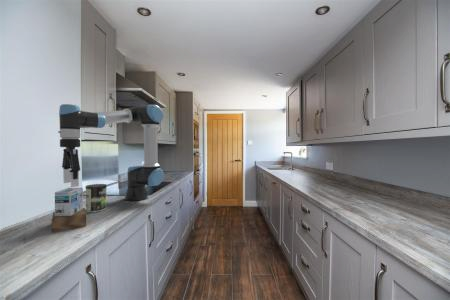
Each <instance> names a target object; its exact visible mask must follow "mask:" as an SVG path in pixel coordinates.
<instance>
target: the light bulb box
mask: <svg viewBox="0 0 450 300" xmlns="http://www.w3.org/2000/svg"><path fill="white" fill-rule="evenodd" d="M83 203H84V188H83V187H67V188H64V189H61V190H58V191H54V212H55V216H71V215H73V214H75V213H77V212H79V211H80V210H82V209H83V208H84V204H83Z"/></svg>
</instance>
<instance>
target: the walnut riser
mask: <svg viewBox="0 0 450 300" xmlns="http://www.w3.org/2000/svg"><path fill="white" fill-rule="evenodd" d="M84 227H87V212H86V207H83V209H82V210H80V211H79V212H77V213H75V214H73V215H71V216H55V211H53V212H52V217H51V233H57V232H62V231H68V230H73V229H79V228H84Z"/></svg>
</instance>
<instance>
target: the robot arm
mask: <svg viewBox="0 0 450 300" xmlns="http://www.w3.org/2000/svg"><path fill="white" fill-rule="evenodd" d="M58 110H59V111H58V112H59V113H58V115H59V116H58V117H59V130H58V131H57V133H58V134H59V138H60V139H59V147H60V148H63V150H62V151H63V155H62V165H61V168H62V169H63V170H62V173H63V176H62V177H63V184H68V183H69V184H70V188H77V187H79V185H80V180H79V179H80V178H79V177H80V174H79V173H80V172H79V171H81V166H80V159H79V150H78V149H76V148H81V129H85V128H86V129H89V128H91V129H93V128H94V129H102V128H104V127H105V126H106V125H112V124H119V123H126V124H131V123H133V124H140V125H141V126H142V127H143V152H144V153H143V155H144V157H143V161H144V163H143V164H142V165H136V166H135V165H133V166H129V167H128V168H127V173H126V174H127V188H126V192H125V195H124V200H125V201H127V202H132V201H133V202H137V201H144V200H146V199H148V198H149V194H148V191H147V187H146V186H150V187H151V186H152V187H154V186H155V187H156V186H159V185H160V184H161V183H162V182H163V180H164V177H165V172H164V170H163V169H162V168H161V164H160V163H159V162H158V161H159V160H158V159H159V158H158V157H159V155H158V153H159V151H158V150H159V149H158V147H159V146H158V127H160V126H161V125H160V124H161V122H162V121H163V119H164V112H163V110H162V109H161V107H160V106H158V105H157V104H145V105H137V106H133V107H127V108H123V109H122V110H121V109H120V110H111V111H109V110H108V111H96V112H92V111H83V110H81V107H80V105H76V104H69V103H63V104H60V106H59V109H58Z"/></svg>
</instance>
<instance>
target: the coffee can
mask: <svg viewBox="0 0 450 300" xmlns="http://www.w3.org/2000/svg"><path fill="white" fill-rule="evenodd" d="M105 210H107V184H106V183H105V184H104V183H92V184H88V185H86V186H85V211H86V213H99V212H103V211H105Z"/></svg>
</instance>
